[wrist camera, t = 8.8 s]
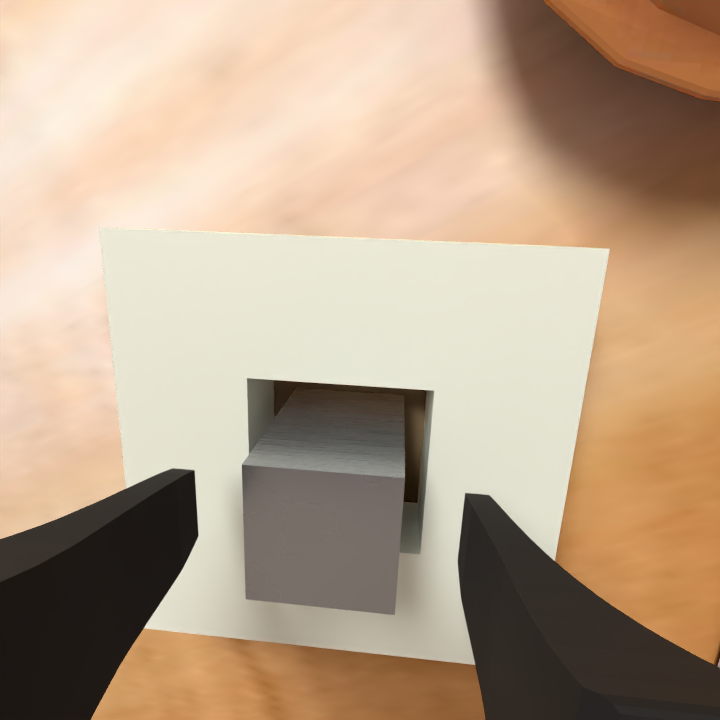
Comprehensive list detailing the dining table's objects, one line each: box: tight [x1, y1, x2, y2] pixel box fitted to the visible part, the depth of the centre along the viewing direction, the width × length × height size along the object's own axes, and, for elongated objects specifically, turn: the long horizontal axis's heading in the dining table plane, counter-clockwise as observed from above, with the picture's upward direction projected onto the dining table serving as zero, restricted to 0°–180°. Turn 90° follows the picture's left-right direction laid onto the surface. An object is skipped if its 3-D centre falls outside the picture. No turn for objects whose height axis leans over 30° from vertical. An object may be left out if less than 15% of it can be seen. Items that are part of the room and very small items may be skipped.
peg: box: [242, 388, 405, 615], centre depth 15 cm, size 4×4×6 cm
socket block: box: [99, 228, 610, 665], centre depth 16 cm, size 14×14×3 cm
